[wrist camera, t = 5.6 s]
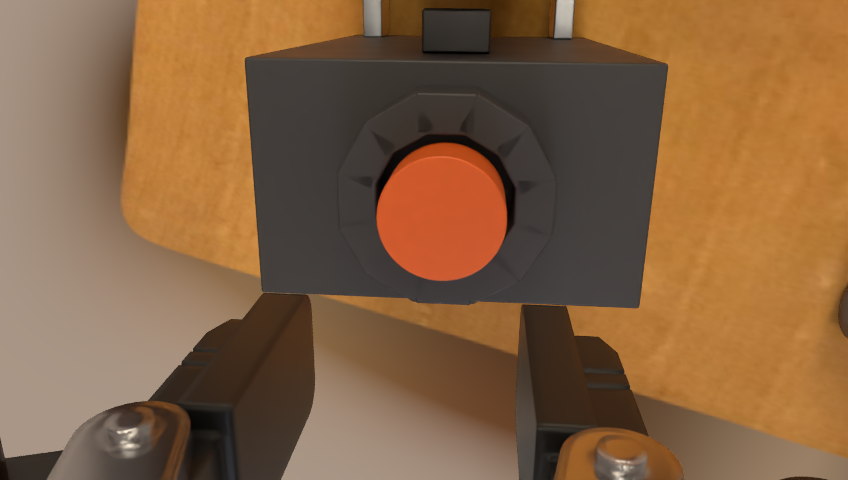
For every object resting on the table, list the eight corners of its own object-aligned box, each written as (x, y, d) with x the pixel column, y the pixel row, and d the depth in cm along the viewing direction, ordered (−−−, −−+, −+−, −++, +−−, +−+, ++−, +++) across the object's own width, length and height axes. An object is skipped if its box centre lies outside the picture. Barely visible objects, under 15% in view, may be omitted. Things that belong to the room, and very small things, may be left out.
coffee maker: (355, 34, 39) (220, 62, 19) (584, 37, 38) (687, 69, 18) (358, 170, 42) (241, 317, 22) (572, 176, 41) (653, 336, 21)
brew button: (385, 140, 20) (374, 154, 18) (508, 143, 20) (510, 157, 18) (386, 254, 21) (376, 279, 19) (502, 258, 21) (504, 284, 19)
